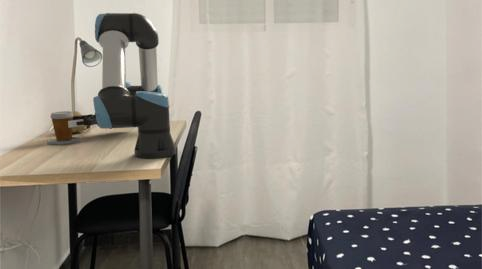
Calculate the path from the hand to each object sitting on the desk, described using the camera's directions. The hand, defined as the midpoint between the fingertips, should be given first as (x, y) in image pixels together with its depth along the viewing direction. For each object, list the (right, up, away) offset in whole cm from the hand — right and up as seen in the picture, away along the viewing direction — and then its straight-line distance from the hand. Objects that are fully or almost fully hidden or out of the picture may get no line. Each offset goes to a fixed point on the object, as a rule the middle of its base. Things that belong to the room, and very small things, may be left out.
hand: (61, 122), depth 202 cm
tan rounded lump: (-2, -4, +26) cm, 26 cm away
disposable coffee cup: (+1, -8, +2) cm, 8 cm away
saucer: (+1, -8, +2) cm, 8 cm away
